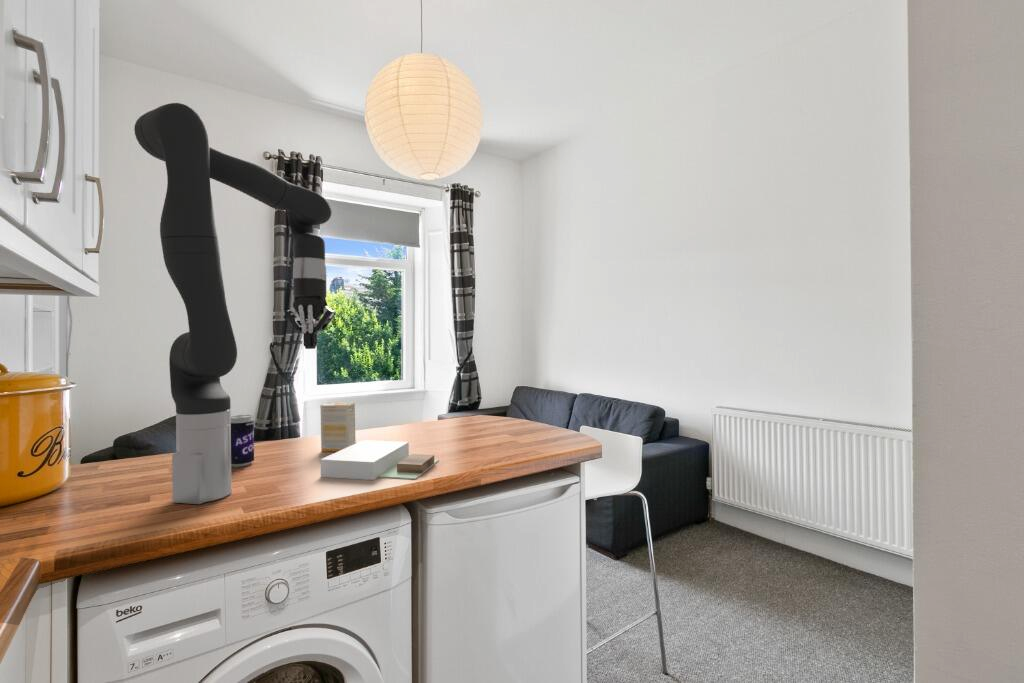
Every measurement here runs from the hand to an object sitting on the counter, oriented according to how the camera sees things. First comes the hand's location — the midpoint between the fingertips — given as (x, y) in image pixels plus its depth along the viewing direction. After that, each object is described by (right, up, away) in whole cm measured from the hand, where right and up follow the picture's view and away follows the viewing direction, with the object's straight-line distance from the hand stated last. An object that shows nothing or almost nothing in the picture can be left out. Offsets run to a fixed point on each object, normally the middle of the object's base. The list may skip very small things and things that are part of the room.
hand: (310, 348), depth 119 cm
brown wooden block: (+26, -27, -2) cm, 38 cm away
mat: (+25, -29, -2) cm, 38 cm away
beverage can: (-18, -29, +2) cm, 34 cm away
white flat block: (+14, -29, 0) cm, 32 cm away
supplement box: (+1, -29, +17) cm, 33 cm away
